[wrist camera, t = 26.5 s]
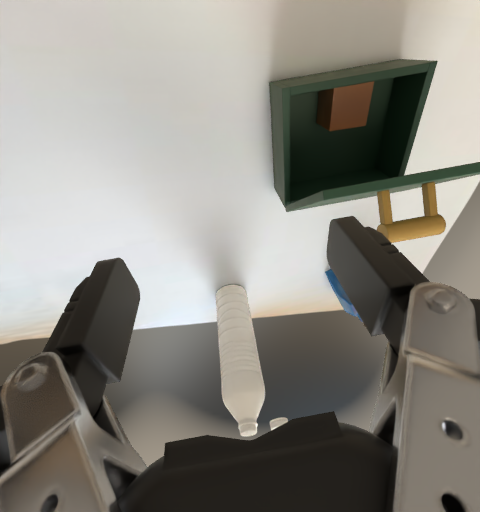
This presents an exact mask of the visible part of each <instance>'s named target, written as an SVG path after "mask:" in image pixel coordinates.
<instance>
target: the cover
mask: <svg viewBox="0 0 480 512" xmlns="http://www.w3.org/2000/svg"><path fill="white" fill-rule="evenodd" d="M478 174H480V162H477V163H471V164H466V165H460V166H455V167H449V168H444V169H438V170H433V171H427V172H421V173H416V174H410V175H405V176H399V177H394V178H388V179H383V180H377V181H371V182H366V183H360V184H355V185H349V186H344V187H338V188H333V189H327V190H323V191H320V192H318V193H316V194H313V195H311V196H308V197H306V198H304V199H301V200H299V201H297V202H294V203H292V204H289V205H287V206H285V208H286V212H289V211H295V210H301V209H306V208H312V207H317V206H323V205H328V204H334V203H339V202H345V201H350V200H356V199H361V198H367V197H373V196H377V197H378V205H379V214H380V223H381V224H380V225H379V226H378V227H377V231H378V232H380V233H382V234H383V235H384V236H385V237H386V238H387V239H388V240H389V241H390V242H391V243H394V242H399V241H405V240H410V239H416V238H421V237H427V236H432V235H438V234H441V233H443V232H444V230H445V227H446V223H445V220H444V218H443V217H442V216H441V215H439V214H438V213H437V201H436V190H435V184H437V183H442V182H446V181H451V180H455V179H460V178H465V177H469V176H474V175H478ZM419 187H422V193H423V204H424V214H425V216H423V217H417V218H412V219H406V220H401V221H395V222H393V221H392V211H391V202H390V193H395V192H400V191H405V190H410V189H414V188H419Z"/></svg>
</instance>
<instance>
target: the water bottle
mask: <svg viewBox="0 0 480 512" xmlns="http://www.w3.org/2000/svg"><path fill="white" fill-rule="evenodd" d="M216 306H217V322H218V338H219V352H220V366H221V381H222V398H223V401H224V404H225V406H226V407H227V409H228V410H229V411H230V413H231V414H232V415H233V417H234V418H235V419H236V421H237V422H238V423H239V426H238V428H239V429H240V434H241V436H252V435H254V434H256V433H257V426H258V424H257V423H256V419H257V417H258V415H259V412H260V409H261V407H262V404H263V402H264V398H265V387H264V382H263V378H262V373H261V367H260V362H259V357H258V352H257V346H256V340H255V336H254V329H253V326H252V320H251V314H250V310H249V304H248V298H247V293H246V291H245V289H244V288H243V287H241V286H238V285H227V286H224V287H222V288H221V289H219V290H218V292H217V294H216ZM278 420H279V421H278ZM286 420H287V421H286ZM274 421H275V422H274ZM272 422H273V423H272ZM286 422H288V419H287V418H277V419H273V420H271V421H270V427H271V430H273V429H275V428H277V427H279V426H281V425H283V424H285V423H286Z"/></svg>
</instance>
